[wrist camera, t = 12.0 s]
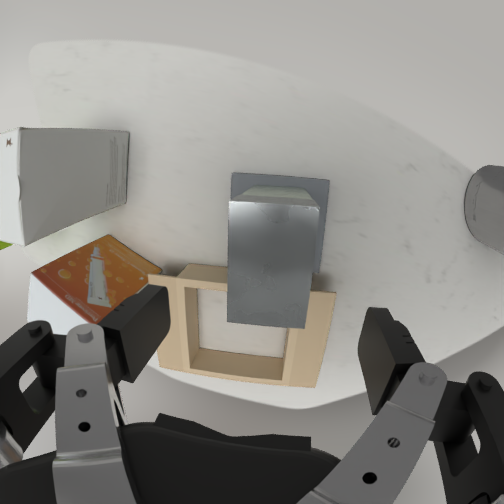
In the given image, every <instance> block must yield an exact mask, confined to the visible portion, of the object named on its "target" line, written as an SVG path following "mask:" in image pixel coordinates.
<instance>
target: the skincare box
mask: <svg viewBox="0 0 504 504" xmlns="http://www.w3.org/2000/svg"><path fill="white" fill-rule="evenodd" d="M128 140H129V132H127V131H117V130H100V129H78V128H24V127H19V128H15V129H12V130H8V131H5V132H2V133H0V241H3V242H7V243H11V244H15V245H19V246H23V247H25V246H27V245H29V244H31V243H33V242H35V241H37V240H39V239H41V238H44V237H46V236H48V235H50V234H52V233H54V232H57V231H59V230H61V229H63V228H65V227H68V226H70V225H73V224H75V223H77V222H79V221H82V220H84V219H87V218H89V217H92V216H94V215H97V214H99V213H102V212H104V211H107V210H109V209H112V208H114V207H117V206H120V205H122V204H125V203H126V178H127V156H128Z"/></svg>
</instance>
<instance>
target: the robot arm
mask: <svg viewBox="0 0 504 504" xmlns="http://www.w3.org/2000/svg"><path fill="white" fill-rule="evenodd" d="M465 216H466V221H467V225H468V227H469V229H470V231H471V233H472V234H473V236H474V237H475V238H476V239H477V240H478V241H480V242H482V243H484V244H486V245H488V246H489V247H491V248H493V249H495V250H497V251H498V252H500V253H502V254H503V255H504V167H502V166H493V165H488V166H484V167H482V168H481V169H479V170H478V171H477V172H476V173H475V174H474V175H473V177H472V179H471V181H470V183H469V185H468V188H467V192H466V197H465ZM170 325H171V317H170V306H169V294H168V289H167V287H165V286H159V285H153V284H148V285H147V286H146V287H144V288H143V289H142V290H141V291H140V292H139V293H138V294H137V293H136V294H134V295H132V296H130V297H127V298H126V299H125V300H123V301H122V302H121V303H120V304H119V305H118V306H117V307H115V308H114V310H112V311H111V312H110V313H109V314H108V315H106V316H105V317H104V318H103V319H102V320H101V321H100V322H99V323H98V324H91V323H87V324H81V325H78V326H75V327H74V328H72V329H71V330H70V331H69V332H68V333H67V335H61V334H53V331H52V328H51V325H50V323H49V322H47V321H44V320H36V321H32V322H29V323H27V324H26V325H24V326H23V327H22V328H21V329H19V330H18V331H17V332H16V333H14V334H13V335H12V336H11V337H9V338H8V339H7V340H6V341H5V342H4V343H2V344H1V345H0V504H393V502H394V500H395V499H396V498H397V496H398V494H399V493H400V491H401V490H402V488H403V486H404V485H405V483H406V481H407V480H408V478H409V476H410V474H411V472H412V471H413V469H414V467H415V465H416V463H417V461H418V459H419V457H420V455H421V453H422V451H423V449H424V447H425V445H426V443H427V441H428V440H430V441H433V442H434V446H435V449H436V454H437V458H438V462H439V466H440V471H441V475H442V480H443V485H444V490H445V495H446V501H447V504H504V391H503V389H502V388H501V386H500V384H499V383H498V381H497V380H496V379H495V378H494V377H493V376H491V375H490V374H488V373H485V372H474V373H472V374H471V375H470V376H469V378H468V379H467V381H466V383H459V382H453V381H447V376H446V374H445V373H444V371H443V370H442V369H441V368H439V367H438V366H436V365H434V364H431V363H426V362H425V360H424V358H423V356H422V354H421V353H420V351H419V349H418V347H417V345H416V344H415V343H414V340H413V338H412V337H411V335H410V333H409V331H408V329H407V328H406V327H405V326H404V325H403V324H401V323H400V322H399V321H394V319H393V317H392V315H391V314H390V312H389V310H388V309H387V308H376V307H369V308H368V309H367V312H366V316H365V320H364V324H363V327H362V331H361V335H360V338H359V343H358V357H359V361H360V364H361V368H362V372H363V376H364V380H365V384H366V389H367V393H368V397H369V401H370V406H371V410H372V415H377V416H376V417H375V419H374V420H373V421H372V423H371V424H370V425H369V427H368V428H367V429H366V431H365V432H364V433H363V435H362V436H361V437H360V439H359V440H358V441H357V442H356V443H355V445H354V446H353V447H352V448H351V450H350V451H349V452H348V453H347V454H346V456H345V457H344V458H343V459H342V460H340V459H338V458H337V457H335V456H333V455H331V454H329V453H327V452H325V451H322V450H319V449H316V448H312V447H311V437H303V436H288V435H276V434H269V435H256V436H240V437H239V436H238V437H232V436H227V435H225V434H222V433H219V432H217V431H215V430H212V429H210V428H207V427H205V426H203V425H201V424H198V423H196V422H194V421H189V420H185V419H180V418H176V417H173V416H169V415H165V414H162V413H159V415H158V417H157V419H156V421H155V422H140V423H132V424H128V420H127V417H126V413H125V409H124V405H123V400H122V397H121V391H120V388H119V385H118V384H119V382H120V381H121V380H124V381H127V382H130V383H134V381H135V380H136V378H137V377H138V375H139V374H140V372H141V371H142V370H143V368H144V367H145V365H146V364H147V363H148V361H149V360H150V358H151V357H152V355H153V354H154V353H155V351H156V350H157V348H158V347H159V346H160V344H161V343H162V341H163V340H164V339H165V337H166V336H167V334H168V333H169V330H170ZM31 366H33V368H34V370H35V372H36V374H37V378H36V379H35V380H34V381H33V382H32V384H31V385H30V386H29V387H28V388H27V389H26V390H25V391H24V392H23V393H22V392H21V390H20V388H19V380H20V378H21V376H22V375H23V374H24V373H25V372H26V371H27V370H28V369H29V368H30V367H31ZM54 411H55V428H56V447H57V450H56V451H53V452H50V453H47V454H43V455H40V456H37V457H33V458H29V459H26V460H22V458H23V453H24V452H25V451H26V449H27V448H28V446H29V445H30V443H31V442H32V440H33V439H34V438H35V436H36V435H37V434H38V432H39V431H40V429H41V428H42V427H43V425H44V424H45V423H46V421H47V420H48V419H49V417H50V416H51V415H52V413H53V412H54ZM475 429H476V431H477V434H478V437H479V439H480V444H481V445H480V451H479V453H477V450H476V447H475V445H474V441H473V439H472V436H471V434H472V432H473V431H474V430H475Z"/></svg>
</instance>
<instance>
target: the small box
mask: <svg viewBox="0 0 504 504" xmlns="http://www.w3.org/2000/svg"><path fill="white" fill-rule="evenodd" d="M161 271H162V269H160V268H158V267H157V266H155V265H153V264H152V263H150V262H148V261H147V260H145V259H144V258H142V257H141V256H139V255H138V254H136V253H135V252H133V251H132V250H130V249H129V248H127V247H126V246H124V245H123V244H122V243H120V242H119V241H117V240H116V239H114V238H113V237H112V236H110V235H106V236H104V237H102V238H99V239H97V240H95V241H93V242H91V243H89V244H87V245H84V246H82V247H80V248H78V249H76V250H74V251H72V252H70V253H68V254H66V255H64V256H62V257H60V258H58V259H56V260H54V261H52V262H50V263H48V264H46V265H44V266H42V267H41V268H39V269H37V270H35V271H33V272H31V274H30V283H29V296H28V315H27V321H28V322H32V321H36V320H44V321H47V322H49V323H50V325H51V328H52V331H53V334H61V335H67V333H68V332H69V331H70V330H71V329H72V328H74V327H75V326H78V325H81V324H87V323H91V324H98V323H99V322H100V321H101V320H102V319H103V318H104V317H105V316H106V315H108V314H109V313H110V312H111V311H112V310H114V308H115V307H117V306H118V305H119V304H120V303H121V302H122V301H123V300H125V299H126V298H127V297H130V296H132V295H134V294H136V293H137V294H138V293H139V292H140V291H141V290H142V289H143V288H144V287H146V286H147V285H148V284H149V282H148V274H149V273H152V274H159V275H160V273H161Z"/></svg>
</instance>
